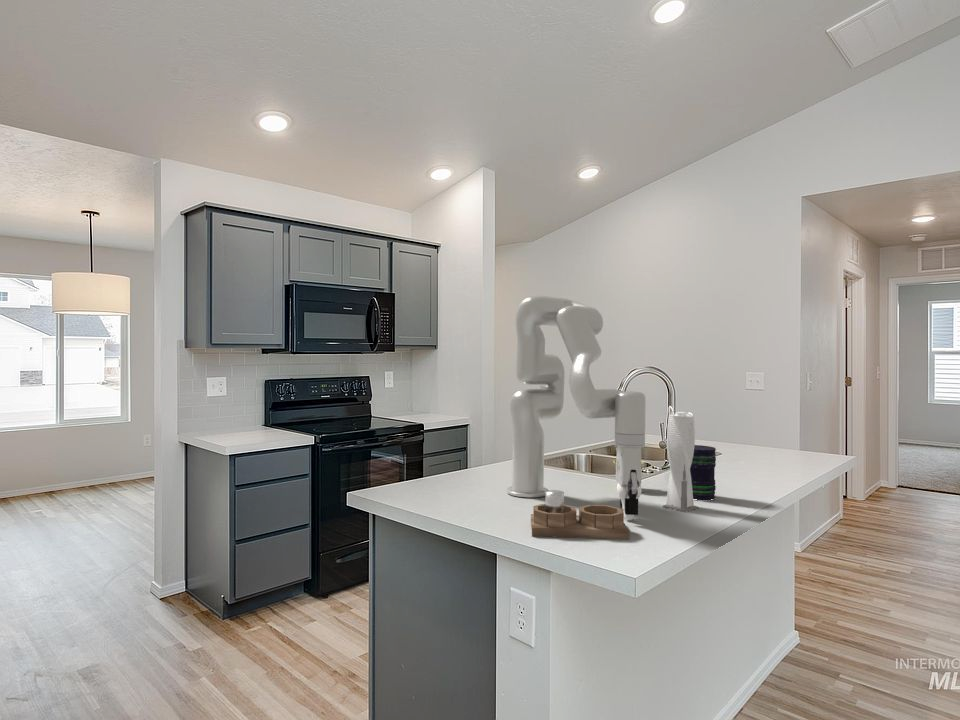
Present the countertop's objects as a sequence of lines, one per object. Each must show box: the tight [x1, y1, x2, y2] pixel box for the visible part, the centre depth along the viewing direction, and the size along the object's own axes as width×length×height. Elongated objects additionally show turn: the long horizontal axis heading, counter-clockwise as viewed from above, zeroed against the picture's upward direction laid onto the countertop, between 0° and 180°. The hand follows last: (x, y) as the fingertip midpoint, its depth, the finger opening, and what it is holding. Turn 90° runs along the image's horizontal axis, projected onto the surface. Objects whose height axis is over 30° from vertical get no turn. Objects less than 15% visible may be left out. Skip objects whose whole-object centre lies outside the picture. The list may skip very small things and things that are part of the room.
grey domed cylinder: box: [544, 489, 565, 513], centre depth 141 cm, size 4×4×7 cm
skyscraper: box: [662, 405, 700, 513], centre depth 165 cm, size 8×8×28 cm
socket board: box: [530, 503, 630, 540], centre depth 141 cm, size 12×22×5 cm, turn 87°
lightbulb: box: [616, 481, 643, 522], centre depth 150 cm, size 6×6×11 cm
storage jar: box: [690, 444, 717, 501], centre depth 177 cm, size 10×10×15 cm
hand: (628, 510), depth 150 cm, fingers closed on lightbulb, 5 cm apart
